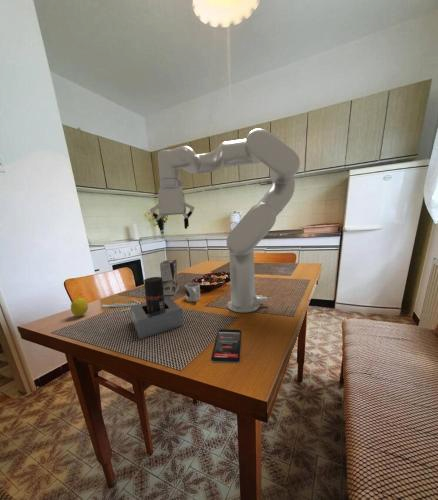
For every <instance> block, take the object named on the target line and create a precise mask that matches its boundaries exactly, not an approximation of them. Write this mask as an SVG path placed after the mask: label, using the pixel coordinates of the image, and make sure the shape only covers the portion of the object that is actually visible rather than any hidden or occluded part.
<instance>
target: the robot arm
mask: <svg viewBox="0 0 438 500" xmlns="http://www.w3.org/2000/svg"><path fill="white" fill-rule="evenodd" d="M157 163H158V175H159V185H160V186H159V187H160V188H159V189H158V195H157V196H158V197H157V199H158V202H157V204H156V205H155V206H152V207H151V208H150V209H149V211H150V213H151V214H152V216H153V217H154V218H155V219H156V220H157V225H158V229H159V230H160V231H163V230H165V228H164V227H165V225H164V220H163V218H164V216H173V215H174V216H175V215H176V216H177V215H182V216H183V217H184V218H183V223H184V224H183V226H184V229H185V230H187V229H188V227H189V225H190V224H189V218H190V217H191V216H192V215H193V213H194V210H195V206H193V205H190V204H188V203H186V199H185V193H184V190H183V188H182V186H184V185H185V182H184V181H182V180H180V169H182V170H184V171H185V172H186V173H188V174H191V175H192V174H193V175H195V174H207V173H211V172H215V171H218V170H222V169H225V168H230V167H239V166H246V165H247V166H248V165H255V164H256V165H257V164H259V163H262V164H263V165H265V166H266V167H267V168H269V175H270V179H271V187H270V188H269V189H268V190H267V192H266V193H265V194H264V195H263V197H262V198H261V199H260V200H259V201H258V202H257V204H255V205H253V206H252V207H250V209H249V210H248V211H247V212H246V214H245V215H244V216H243V217H242V218H241V219H240V220H239V221H238V223H236V225H235V226H234V227H233V229H232V230H231V231H230V232H229V233H228V236H227V237H226V247H227V249H228V252H229V253H228V257H229V258H228V259H229V279H230V298H231V299H230V301H228V303H227V308H228V309H229V310H231V311H233V312H235V313H243V314H244V313H252V312H255V311H257V310H258V309H259V308H260V303H262V302H263V303H266V302H268V297H267V296H263V295H257V294H256V284H255V257H254V256H255V255H254V249H255V248H256V246H257V245H258V244H260V242H261V241H262V240H263V239H264V238H265V237H266V235H267V234H268V233H269V232H270V231H271V229H273V227H274V225H275V224H276V220H277V217H278V216H279V214H280V213H281V212H282V211H283V210H284V208H286V206H287V205H288V203H289V202H290V201H291V199H292V198H293V195H294V192H295V187H296V183H295V182H296V181H295V177H294V176H295V175H296V173H297V172H298V171H299V169H300V165H301V161H300V156H299V155H298V153H297V152H296V151H295V150H294V149H293V148H292V147H290V146H289V145H287V144H286V143H284V142H283V141H282V140H281V139H279V138H278V137H277V136H275V135H274V134H273V133H271V132H270V131H268V130H267V129H265V128H254V129H252V130H251V131H250V132H249V133H248V134H247V136H246V138H243V139H235V140H227V141H226V140H225V141H223V142H221V143H220V144H219V145H218V146H217V148H215V149H214V150H212V151H210V152H206V153H198V154H197V153H196V152H195V150H194V149H193V148H192V147H190V146H188V145H183V146H179V147H178V146H177V147H176V148H173V149H163V150H160V151H158V153H157ZM187 208H189V211H188V212H187ZM157 210H158V213H159V214H157V212H156V211H157ZM186 212H187V213H186Z"/></svg>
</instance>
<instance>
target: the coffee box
mask: <svg viewBox="0 0 438 500" xmlns="http://www.w3.org/2000/svg"><path fill="white" fill-rule="evenodd" d="M159 267H160V268H159V269H160V277H161V278H162V281H163V292H164V296H175V295H176V294H177V292H178V291H179V279H178V278H179V277H178V276H179V275H178V269H177V268H178V265H177V259H170V260H169V259H168V260H163V261H162V262H160V263H159Z"/></svg>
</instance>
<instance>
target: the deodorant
mask: <svg viewBox="0 0 438 500" xmlns="http://www.w3.org/2000/svg"><path fill="white" fill-rule="evenodd" d="M143 282H144V292H145V302H146V304H147V314H149V313H153V312H157V311H161V310H164V309H165V303H164V298H165V295H164V292H163V281H162V278H161V276H152V277H147V278H145V279H144V280H143Z"/></svg>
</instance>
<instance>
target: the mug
mask: <svg viewBox="0 0 438 500" xmlns="http://www.w3.org/2000/svg"><path fill="white" fill-rule="evenodd" d="M200 286H201V285H200V283H199V282H190V283H186V284H184V290H185V291H184V292H185V301H186V302H189V303H194V302H198V301H200V300H201V288H200Z"/></svg>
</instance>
